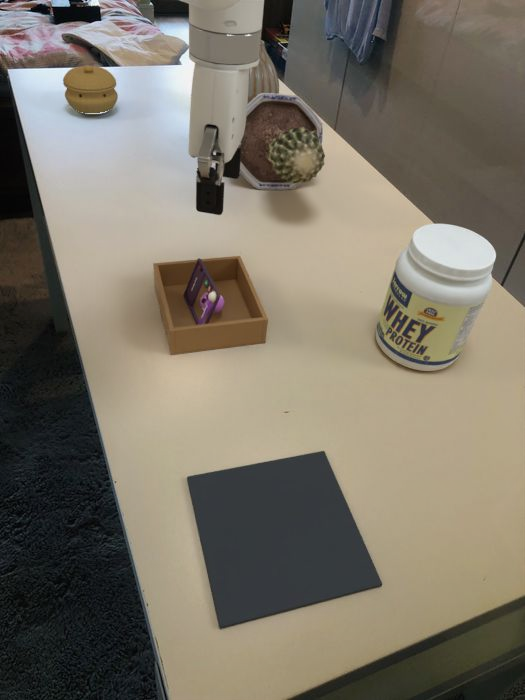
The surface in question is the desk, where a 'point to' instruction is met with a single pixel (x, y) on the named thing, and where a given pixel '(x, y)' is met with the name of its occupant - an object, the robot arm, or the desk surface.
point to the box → (224, 327)
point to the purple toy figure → (209, 300)
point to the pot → (90, 89)
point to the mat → (278, 538)
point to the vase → (263, 76)
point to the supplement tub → (435, 296)
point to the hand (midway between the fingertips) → (218, 193)
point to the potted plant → (280, 142)
